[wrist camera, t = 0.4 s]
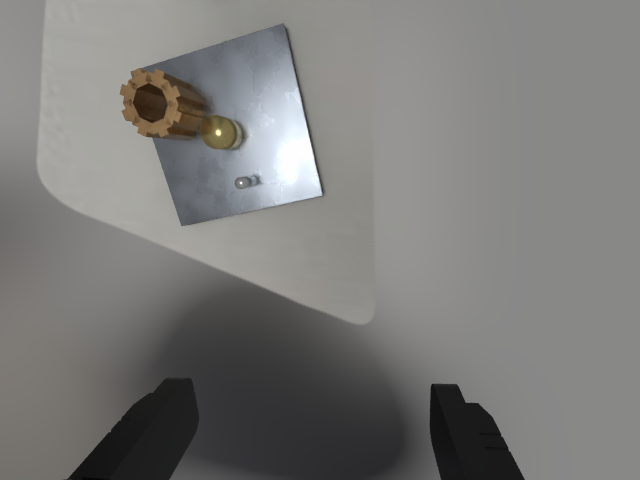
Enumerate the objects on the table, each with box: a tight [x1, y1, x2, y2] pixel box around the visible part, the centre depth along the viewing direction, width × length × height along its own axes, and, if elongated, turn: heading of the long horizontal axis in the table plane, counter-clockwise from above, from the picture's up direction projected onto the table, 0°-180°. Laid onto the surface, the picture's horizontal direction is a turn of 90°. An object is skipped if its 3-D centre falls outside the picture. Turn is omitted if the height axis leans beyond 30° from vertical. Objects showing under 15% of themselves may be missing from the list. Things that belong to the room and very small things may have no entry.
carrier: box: [131, 23, 323, 226], centre depth 33 cm, size 17×17×5 cm
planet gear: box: [120, 68, 206, 140], centre depth 32 cm, size 6×6×5 cm
